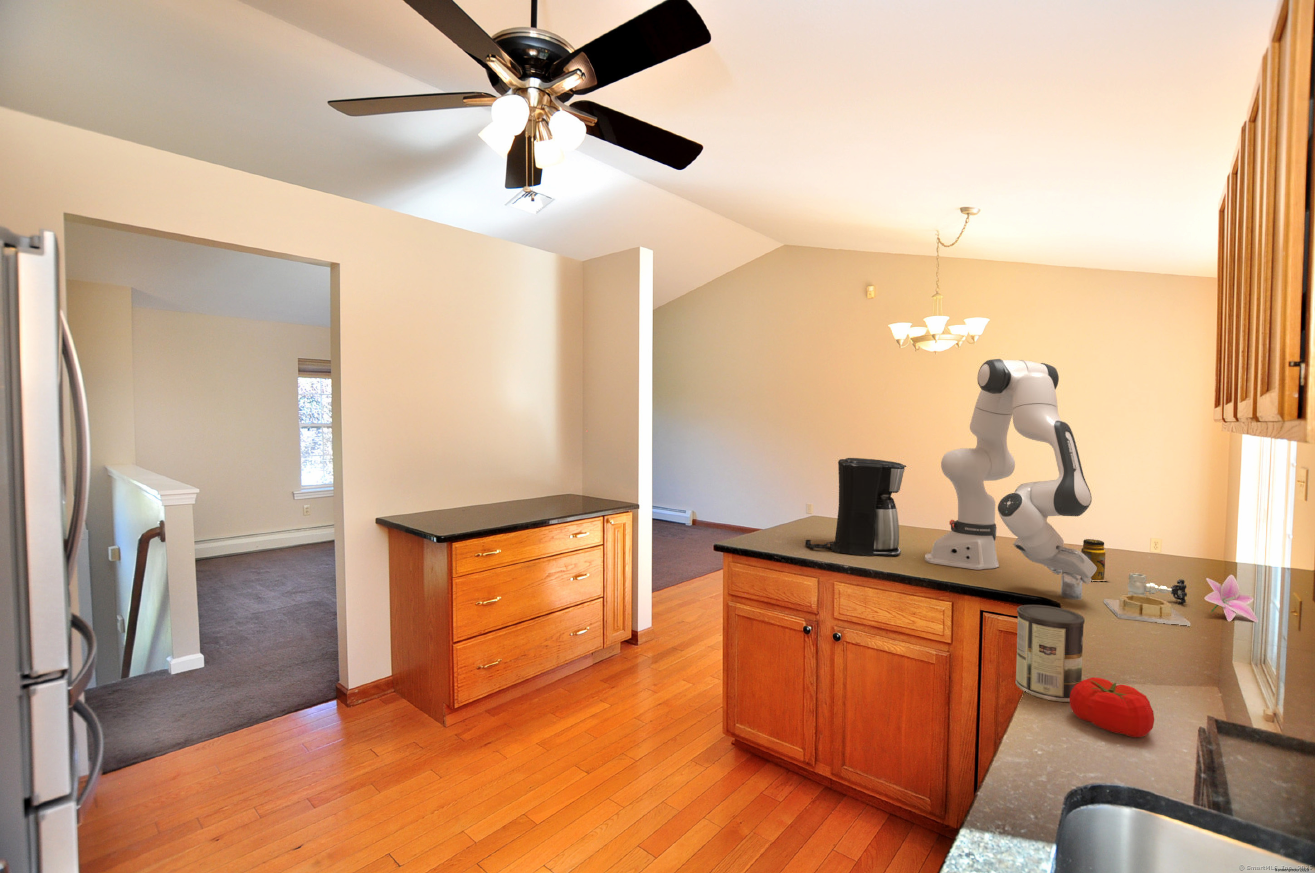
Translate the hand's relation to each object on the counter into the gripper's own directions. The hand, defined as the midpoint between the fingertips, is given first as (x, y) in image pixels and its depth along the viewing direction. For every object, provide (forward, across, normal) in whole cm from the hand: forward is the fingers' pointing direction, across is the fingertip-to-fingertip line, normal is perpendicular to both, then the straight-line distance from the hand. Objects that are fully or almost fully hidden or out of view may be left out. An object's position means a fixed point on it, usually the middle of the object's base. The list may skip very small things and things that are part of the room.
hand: (1072, 576), depth 167 cm
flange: (+8, -15, 0) cm, 17 cm away
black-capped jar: (+4, 0, +4) cm, 6 cm away
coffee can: (-34, -48, +42) cm, 72 cm away
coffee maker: (-17, +64, +25) cm, 71 cm away
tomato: (-34, -61, +42) cm, 82 cm away
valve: (+18, -6, -10) cm, 22 cm away
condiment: (+19, +15, -11) cm, 27 cm away
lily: (+22, -20, -14) cm, 33 cm away
